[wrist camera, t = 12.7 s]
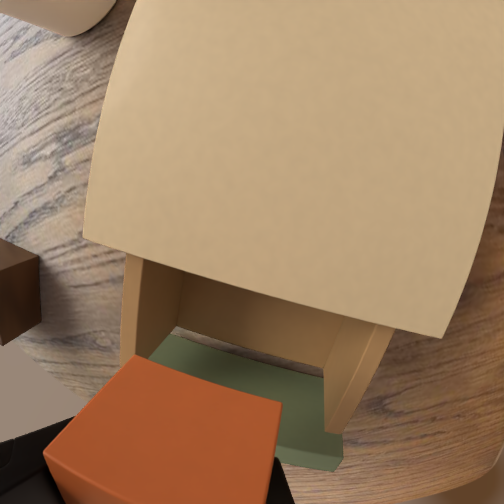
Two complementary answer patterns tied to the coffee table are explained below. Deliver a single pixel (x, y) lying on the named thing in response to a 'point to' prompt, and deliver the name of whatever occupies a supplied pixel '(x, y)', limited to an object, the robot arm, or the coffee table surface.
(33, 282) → the brown cube
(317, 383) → the drawer
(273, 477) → the robot arm
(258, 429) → the block
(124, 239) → the cabinet
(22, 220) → the coffee table surface
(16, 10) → the can
